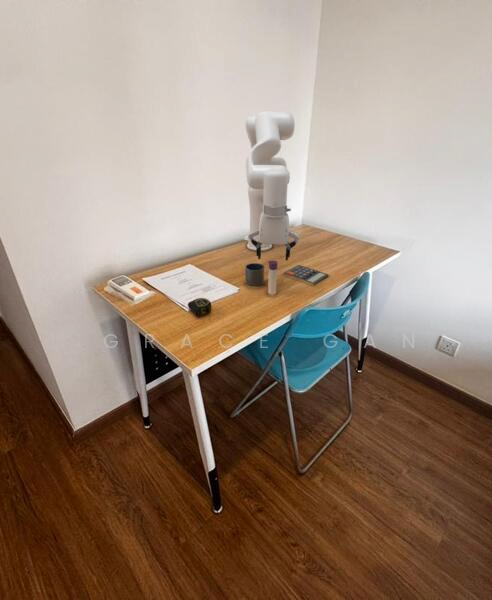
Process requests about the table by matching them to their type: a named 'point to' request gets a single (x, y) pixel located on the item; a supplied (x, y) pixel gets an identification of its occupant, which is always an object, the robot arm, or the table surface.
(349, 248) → the table surface
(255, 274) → the pen cup
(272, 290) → the glue stick
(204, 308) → the tape measure
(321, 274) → the calculator
